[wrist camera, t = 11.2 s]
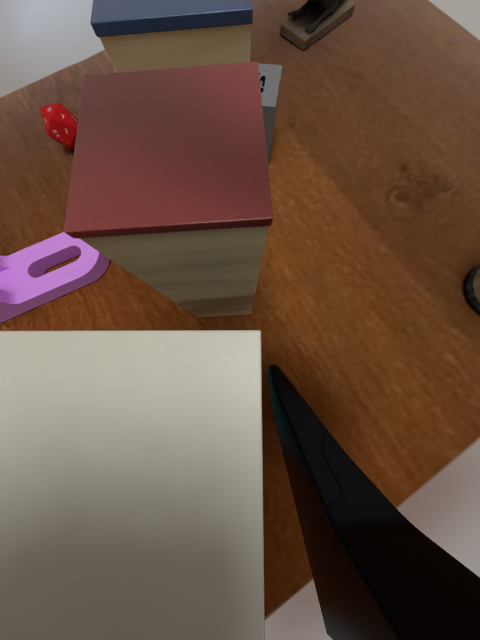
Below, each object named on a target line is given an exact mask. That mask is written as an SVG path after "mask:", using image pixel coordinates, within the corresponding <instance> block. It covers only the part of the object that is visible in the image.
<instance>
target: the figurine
mask: <svg viewBox="0 0 480 640" xmlns="http://www.w3.org/2000/svg"><path fill="white" fill-rule="evenodd" d="M354 8H355V3H354V2H352V1H351V0H308V1H307V3H306V4H304V5H303V6H302V7H301V8H300V9H298V10H296V11H292V12H290V13H288V15H289V16H292V15H293V16H292V17H290V18H289V19H287V20H286V21H284V22H283V23H282V24H281V30H280V34H281V35H283V36H284V37H285V38H287V39H288V40H289V41H291V42H292V43H294V44H295V45H296V46H298V47H299V48H301V49H302V50H305V49H306V48H308V47H309V46H310V45H312V44H313V43H314V42H316V41H317V40H319V39H320V38H321V37H323V36H324V35H325V34H327V33H328V32H330V31H331V30H332V29H334V28H335V27H336V26H338V25H339V24H341V23H342V22H343V21H344V20H346V19H347V18H348V17H350V16H351V15H352V13H353V10H354ZM289 16H288V17H289Z"/></svg>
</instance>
